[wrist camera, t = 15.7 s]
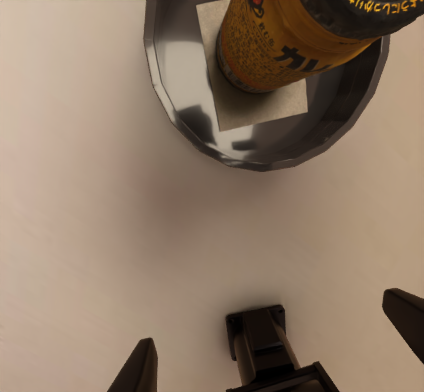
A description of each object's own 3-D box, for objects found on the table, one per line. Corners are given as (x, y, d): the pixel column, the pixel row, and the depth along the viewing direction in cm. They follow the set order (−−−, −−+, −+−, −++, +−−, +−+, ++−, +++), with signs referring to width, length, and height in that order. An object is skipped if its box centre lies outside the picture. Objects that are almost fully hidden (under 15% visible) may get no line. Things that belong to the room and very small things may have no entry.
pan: (343, 147, 20) (379, 153, 17) (175, 174, 20) (172, 186, 16) (354, -77, 16) (408, -139, 12) (130, -54, 15) (111, -115, 11)
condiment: (297, -15, 16) (572, -349, 5) (306, 112, 19) (493, 97, 7) (195, 6, 16) (221, -294, 4) (219, 132, 18) (274, 148, 7)
